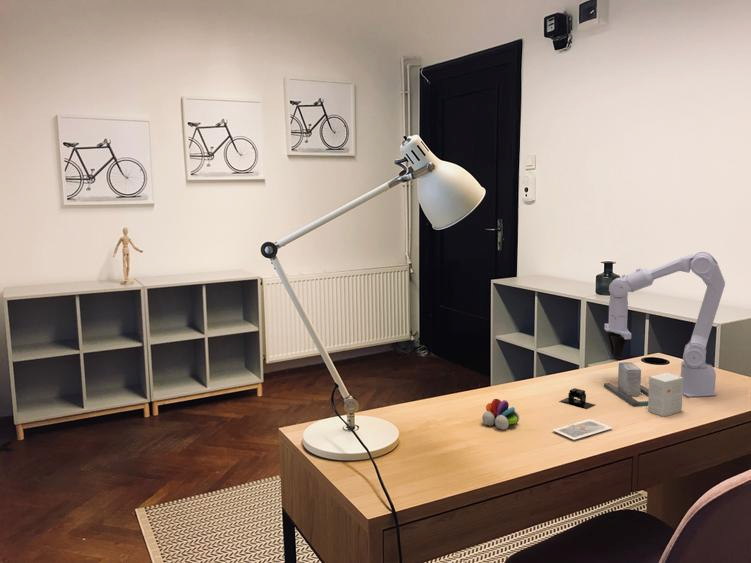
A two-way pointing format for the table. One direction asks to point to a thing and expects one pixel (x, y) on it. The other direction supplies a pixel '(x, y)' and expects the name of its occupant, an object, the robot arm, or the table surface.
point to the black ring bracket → (575, 402)
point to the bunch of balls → (500, 414)
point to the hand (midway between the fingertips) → (616, 355)
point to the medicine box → (629, 378)
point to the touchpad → (582, 429)
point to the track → (627, 397)
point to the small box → (665, 394)
